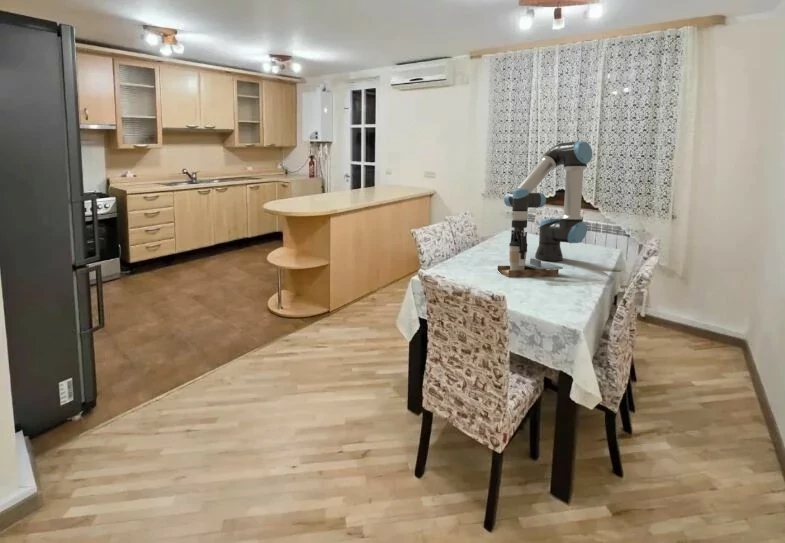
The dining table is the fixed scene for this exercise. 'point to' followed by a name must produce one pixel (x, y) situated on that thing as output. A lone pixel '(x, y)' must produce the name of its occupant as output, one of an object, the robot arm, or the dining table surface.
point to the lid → (541, 265)
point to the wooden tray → (527, 272)
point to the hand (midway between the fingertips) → (517, 264)
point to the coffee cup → (515, 256)
